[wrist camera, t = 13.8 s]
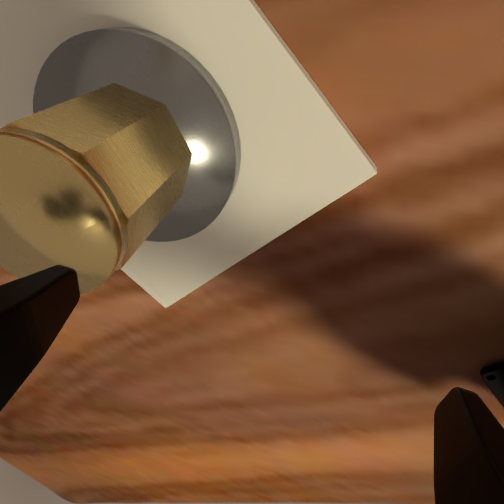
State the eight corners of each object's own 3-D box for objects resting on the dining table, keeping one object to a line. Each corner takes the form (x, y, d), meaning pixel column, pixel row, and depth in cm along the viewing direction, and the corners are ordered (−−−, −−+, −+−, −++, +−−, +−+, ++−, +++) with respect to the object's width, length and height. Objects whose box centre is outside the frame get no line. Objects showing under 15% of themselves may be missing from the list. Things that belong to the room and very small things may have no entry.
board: (376, 166, 17) (377, 173, 17) (170, 300, 26) (165, 308, 25) (60, -263, 12) (43, -277, 11) (-71, 87, 20) (-85, 90, 19)
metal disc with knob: (284, 161, 17) (256, 230, 12) (158, 258, 22) (103, 333, 17) (119, -36, 14) (-6, -51, 9) (18, 128, 19) (-96, 176, 14)
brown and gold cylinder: (76, 64, 16) (-72, 102, 10) (203, 117, 16) (124, 185, 10) (73, 180, 19) (-39, 256, 14) (177, 224, 19) (107, 315, 14)
